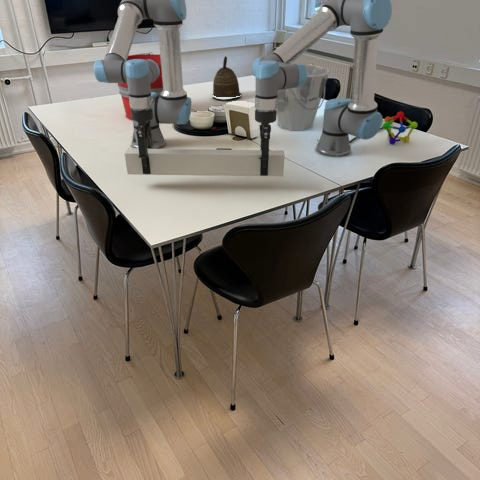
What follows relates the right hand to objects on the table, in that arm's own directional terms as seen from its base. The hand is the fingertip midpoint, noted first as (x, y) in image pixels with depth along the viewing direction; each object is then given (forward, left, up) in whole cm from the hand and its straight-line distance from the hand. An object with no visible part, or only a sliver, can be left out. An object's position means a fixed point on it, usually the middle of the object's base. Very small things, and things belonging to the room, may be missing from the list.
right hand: (263, 171), depth 165 cm
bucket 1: (-6, -112, -6) cm, 112 cm away
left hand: (+35, -25, 0) cm, 43 cm away
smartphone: (-5, -36, -6) cm, 37 cm away
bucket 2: (-61, -51, -6) cm, 80 cm away
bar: (+17, -13, -1) cm, 22 cm away
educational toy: (-82, -3, -6) cm, 83 cm away
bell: (-63, -119, -6) cm, 135 cm away
